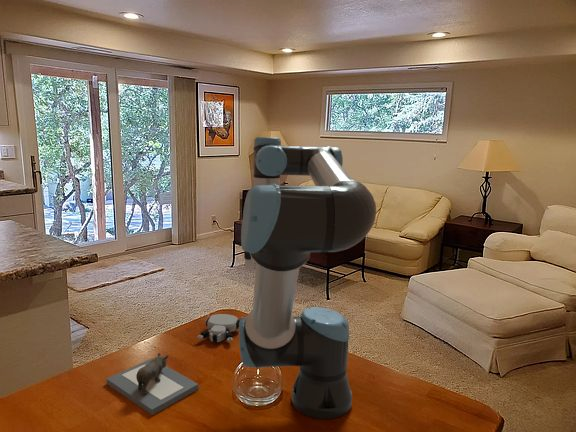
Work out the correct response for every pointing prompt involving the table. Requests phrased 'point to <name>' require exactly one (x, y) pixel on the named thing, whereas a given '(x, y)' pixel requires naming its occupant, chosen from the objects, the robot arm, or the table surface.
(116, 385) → the display plate
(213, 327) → the robot toy
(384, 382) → the table surface
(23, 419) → the table surface
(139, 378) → the rhino figurine
